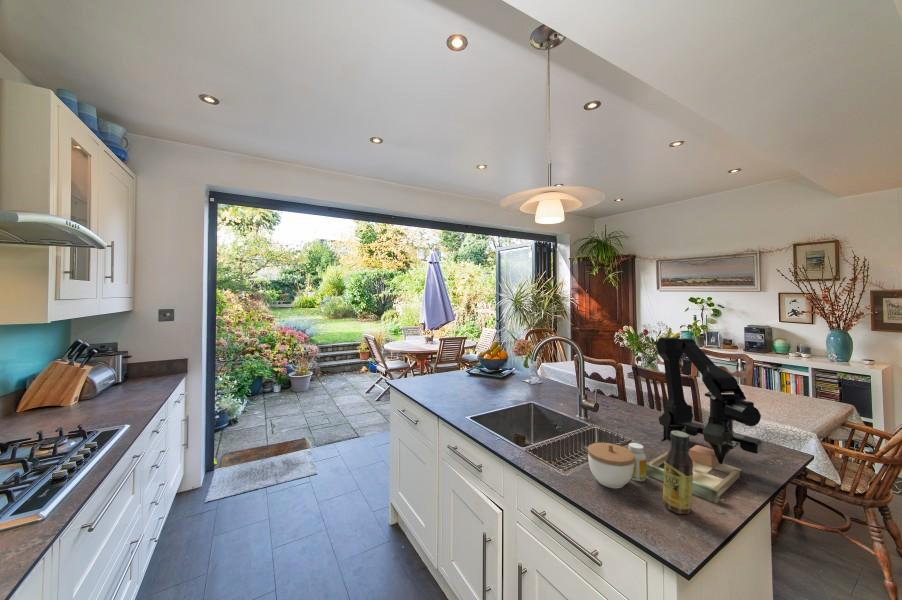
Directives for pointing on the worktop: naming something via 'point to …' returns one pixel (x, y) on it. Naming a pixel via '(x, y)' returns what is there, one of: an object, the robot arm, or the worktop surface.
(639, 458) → the supplement bottle
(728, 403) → the robot arm
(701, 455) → the block
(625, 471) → the lidded bowl
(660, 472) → the box
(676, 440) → the sauce bottle
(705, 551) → the worktop surface
